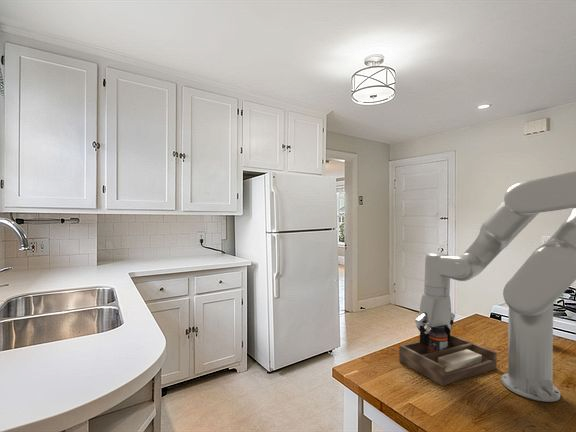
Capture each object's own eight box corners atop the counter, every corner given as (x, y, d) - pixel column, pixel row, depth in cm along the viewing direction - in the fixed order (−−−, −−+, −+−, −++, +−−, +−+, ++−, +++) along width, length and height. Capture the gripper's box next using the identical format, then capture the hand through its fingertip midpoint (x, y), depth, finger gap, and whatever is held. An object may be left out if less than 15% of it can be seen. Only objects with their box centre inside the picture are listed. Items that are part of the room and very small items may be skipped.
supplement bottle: (423, 357, 101) (423, 323, 101) (436, 354, 103) (436, 321, 103) (438, 365, 95) (438, 329, 95) (451, 362, 98) (451, 327, 98)
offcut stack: (484, 369, 94) (484, 354, 94) (446, 382, 86) (446, 367, 86) (468, 361, 99) (468, 348, 99) (430, 374, 91) (431, 359, 91)
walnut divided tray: (496, 368, 94) (496, 352, 94) (442, 385, 84) (442, 367, 84) (450, 347, 108) (450, 333, 108) (399, 360, 98) (399, 345, 98)
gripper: (444, 286, 106) (443, 334, 107) (408, 290, 99) (406, 341, 100) (465, 291, 100) (463, 342, 100) (427, 296, 92) (425, 351, 93)
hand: (434, 342), depth 100 cm, fingers open, 9 cm apart
